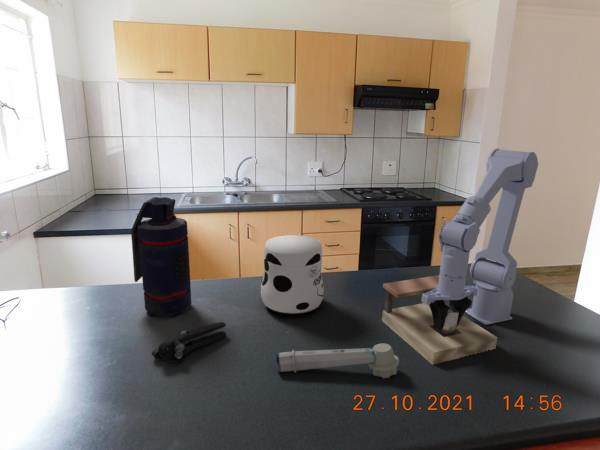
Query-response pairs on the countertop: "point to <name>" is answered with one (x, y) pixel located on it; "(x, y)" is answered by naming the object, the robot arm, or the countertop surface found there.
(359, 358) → the toothbrush head
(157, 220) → the grenade
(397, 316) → the socket block
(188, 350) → the can opener
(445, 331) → the steel peg
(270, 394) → the countertop surface
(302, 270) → the milk container
